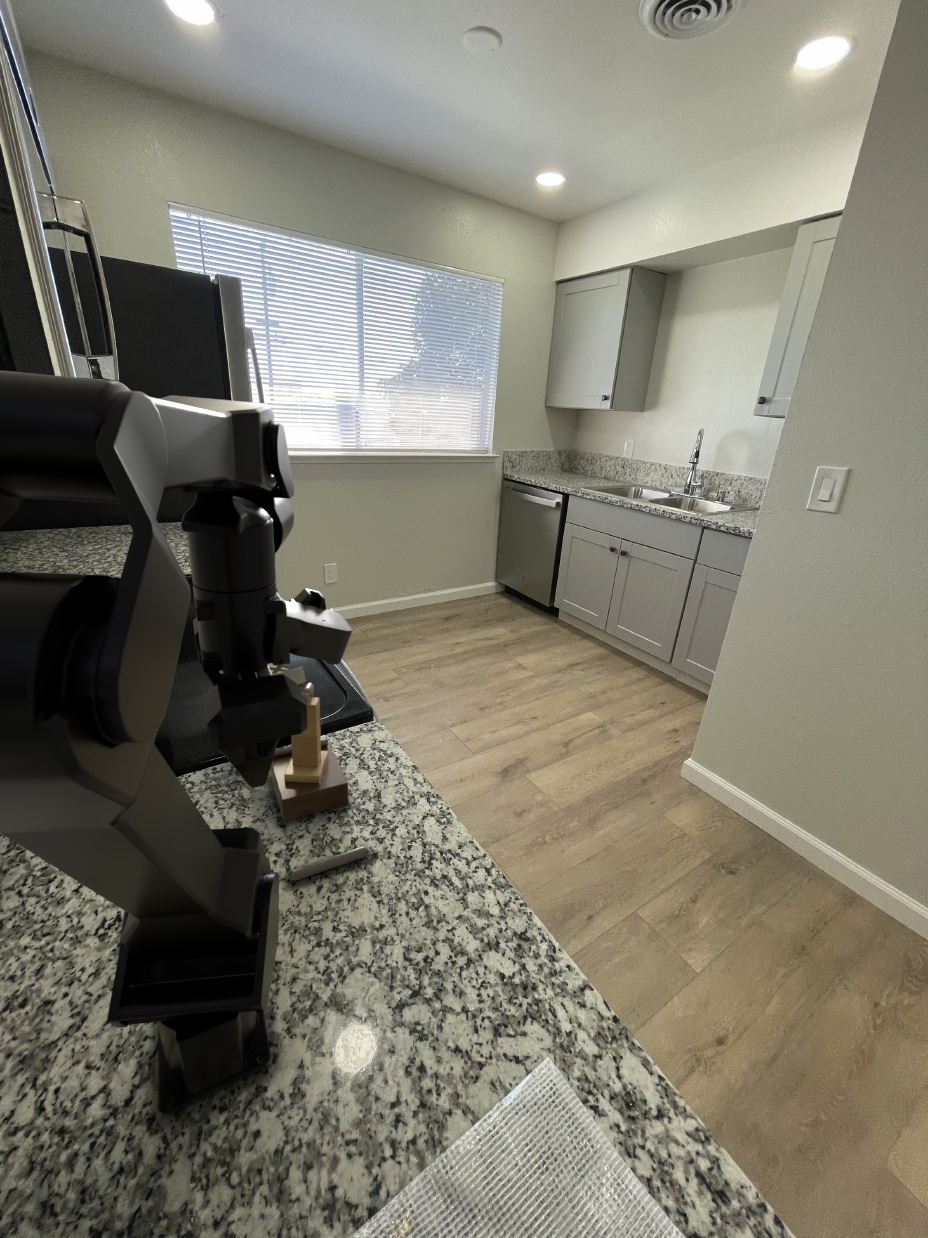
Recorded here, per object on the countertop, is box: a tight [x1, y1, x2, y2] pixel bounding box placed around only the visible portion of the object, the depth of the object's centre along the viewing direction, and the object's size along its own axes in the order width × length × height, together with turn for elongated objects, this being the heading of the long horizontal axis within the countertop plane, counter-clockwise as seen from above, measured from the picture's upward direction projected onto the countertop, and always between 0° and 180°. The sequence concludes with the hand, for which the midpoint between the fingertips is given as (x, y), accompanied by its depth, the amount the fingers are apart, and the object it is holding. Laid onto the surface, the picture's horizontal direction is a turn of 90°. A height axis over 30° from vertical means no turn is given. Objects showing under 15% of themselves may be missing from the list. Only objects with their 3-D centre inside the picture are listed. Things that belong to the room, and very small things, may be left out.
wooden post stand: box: [284, 682, 328, 783], centre depth 56 cm, size 5×4×10 cm
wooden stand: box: [269, 738, 368, 882], centre depth 55 cm, size 16×8×4 cm, turn 29°
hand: (250, 752), depth 44 cm, fingers open, 9 cm apart
